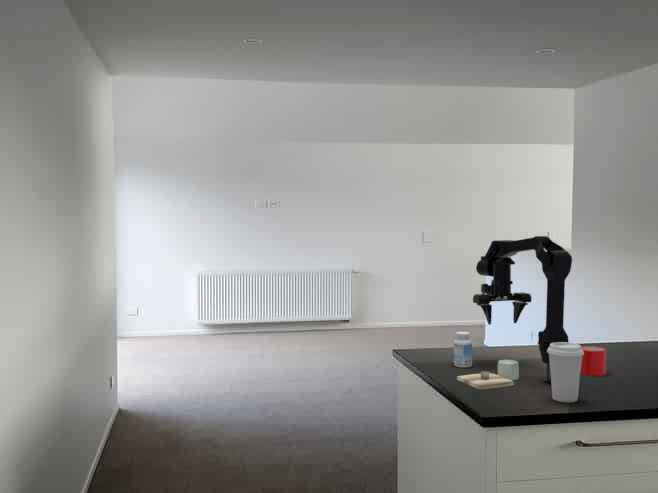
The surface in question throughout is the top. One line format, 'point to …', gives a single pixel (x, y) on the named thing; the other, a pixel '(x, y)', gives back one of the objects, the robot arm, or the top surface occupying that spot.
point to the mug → (593, 361)
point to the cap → (508, 369)
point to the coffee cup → (565, 370)
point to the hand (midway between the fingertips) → (502, 323)
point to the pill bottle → (462, 350)
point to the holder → (485, 380)
